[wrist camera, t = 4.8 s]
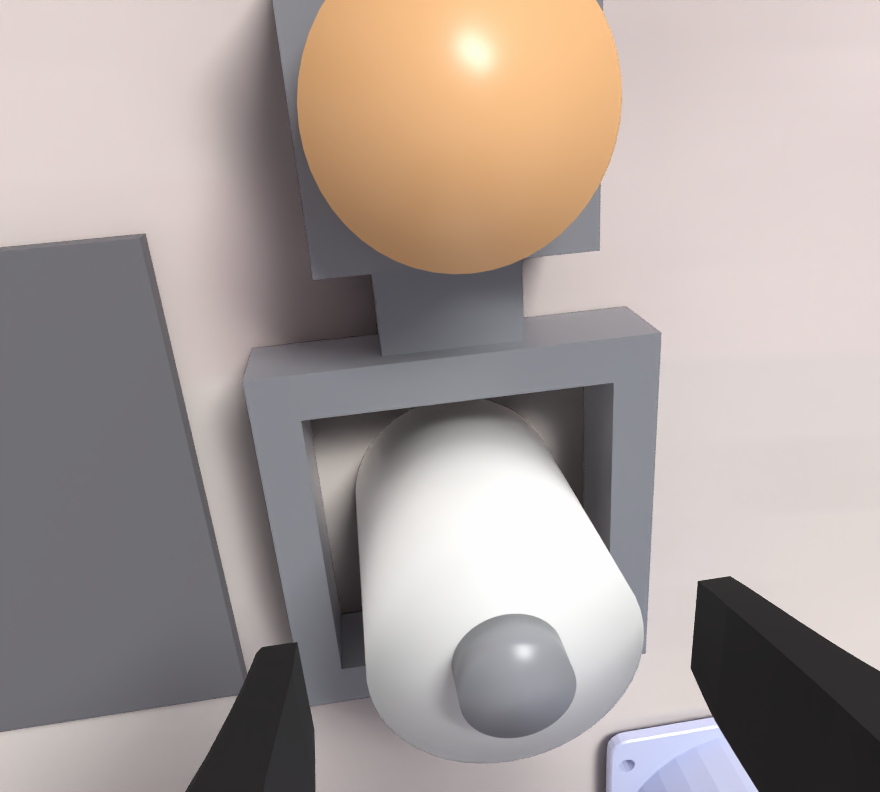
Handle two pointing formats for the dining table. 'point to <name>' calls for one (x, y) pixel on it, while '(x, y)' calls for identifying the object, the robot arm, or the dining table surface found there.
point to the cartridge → (485, 589)
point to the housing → (437, 394)
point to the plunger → (459, 123)
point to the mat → (101, 497)
